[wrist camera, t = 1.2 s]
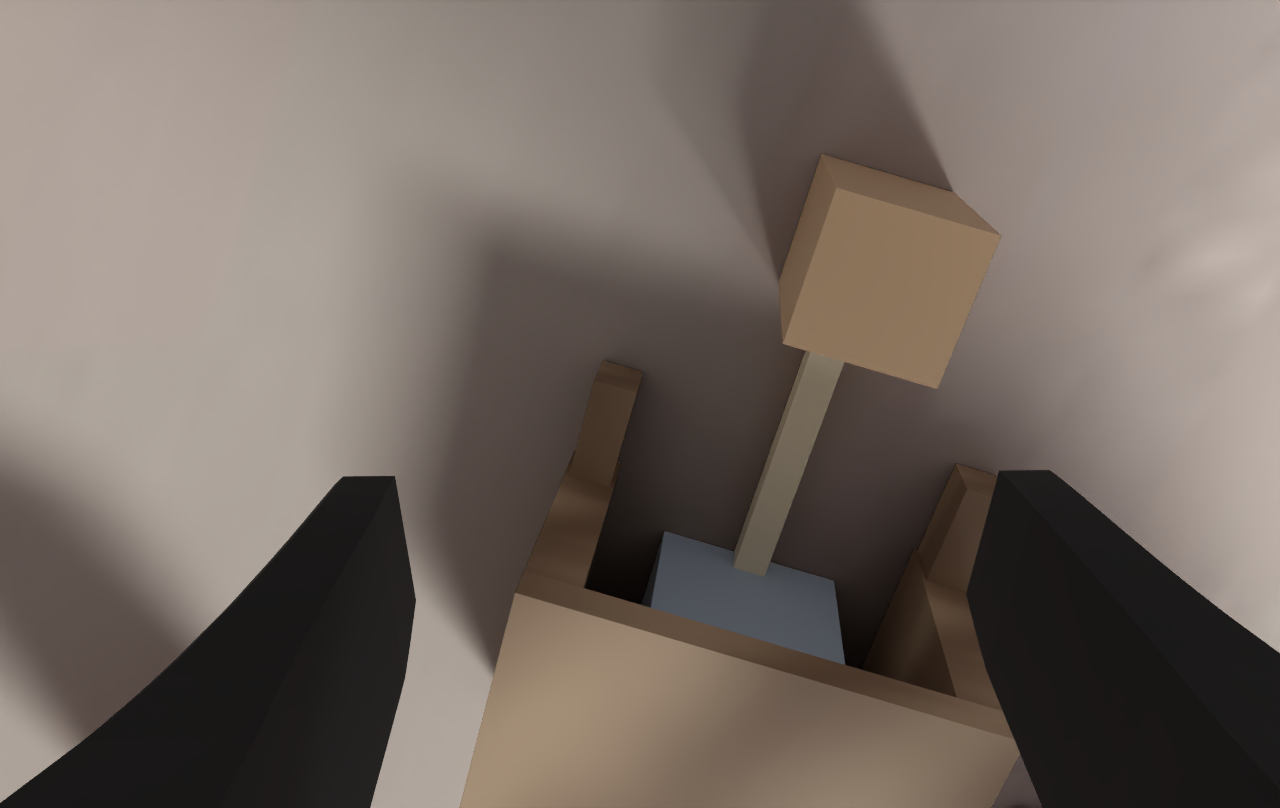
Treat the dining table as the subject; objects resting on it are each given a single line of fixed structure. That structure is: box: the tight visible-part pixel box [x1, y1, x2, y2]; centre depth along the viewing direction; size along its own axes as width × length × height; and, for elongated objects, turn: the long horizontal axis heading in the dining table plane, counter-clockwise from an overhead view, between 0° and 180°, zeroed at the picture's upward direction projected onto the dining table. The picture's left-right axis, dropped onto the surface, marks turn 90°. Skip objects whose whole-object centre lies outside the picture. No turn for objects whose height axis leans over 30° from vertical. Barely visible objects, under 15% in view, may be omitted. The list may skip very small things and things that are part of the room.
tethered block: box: [641, 154, 1001, 665], centre depth 22 cm, size 4×14×4 cm, turn 165°
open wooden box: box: [459, 360, 1020, 808], centre depth 23 cm, size 10×10×7 cm
